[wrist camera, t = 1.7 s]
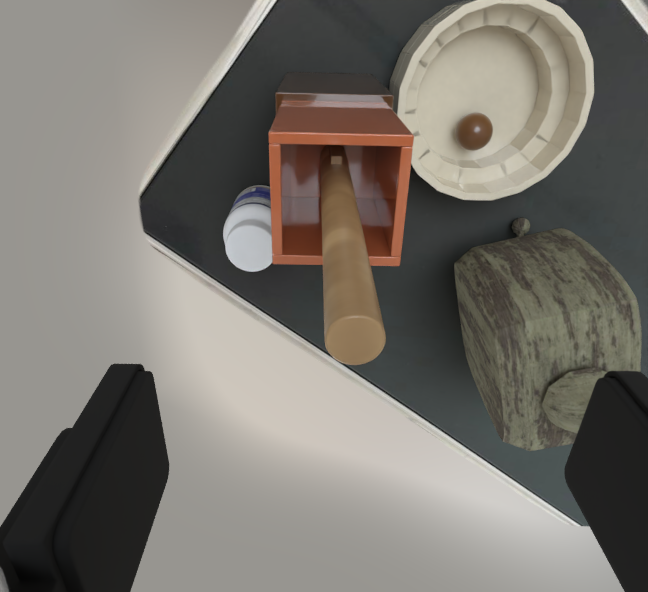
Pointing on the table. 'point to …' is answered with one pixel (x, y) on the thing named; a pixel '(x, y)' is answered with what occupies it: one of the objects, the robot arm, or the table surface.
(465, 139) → the brown ball
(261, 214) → the pill bottle
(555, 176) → the table surface
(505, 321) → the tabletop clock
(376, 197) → the brown boxy piece
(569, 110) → the bowl
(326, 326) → the stirring stick
